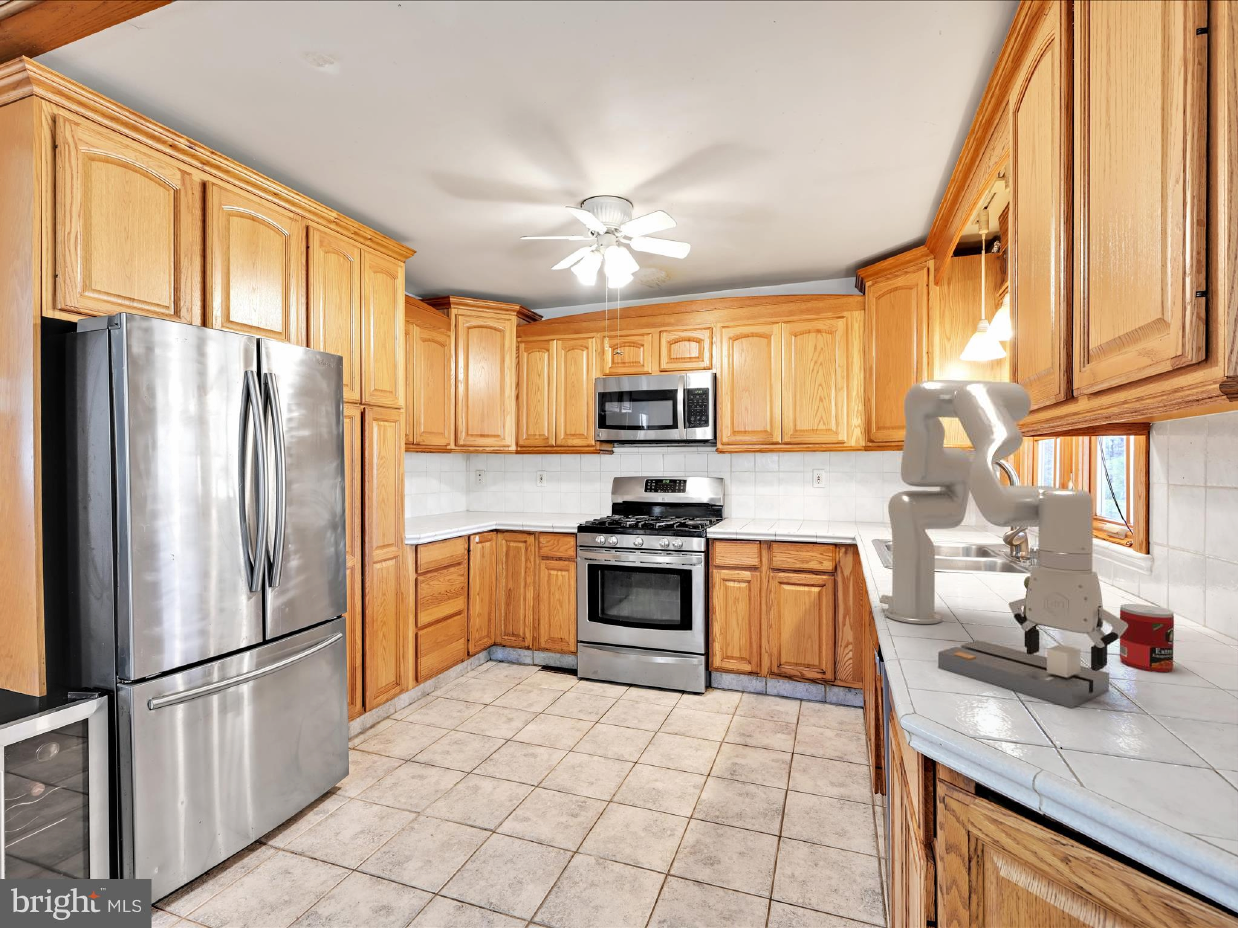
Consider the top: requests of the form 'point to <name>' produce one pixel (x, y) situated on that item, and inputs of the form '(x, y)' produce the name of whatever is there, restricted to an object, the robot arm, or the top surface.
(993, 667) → the fader console
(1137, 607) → the canned food
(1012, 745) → the top surface
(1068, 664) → the fader knob
